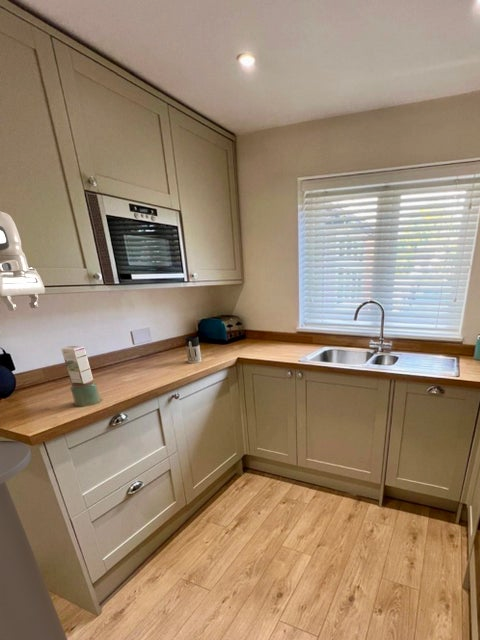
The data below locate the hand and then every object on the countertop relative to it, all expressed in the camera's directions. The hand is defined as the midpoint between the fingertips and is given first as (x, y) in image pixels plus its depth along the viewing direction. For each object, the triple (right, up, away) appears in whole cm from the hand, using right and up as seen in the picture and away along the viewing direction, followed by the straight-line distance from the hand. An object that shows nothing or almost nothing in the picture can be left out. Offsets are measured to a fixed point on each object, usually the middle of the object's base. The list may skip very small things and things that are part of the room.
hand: (24, 309), depth 114 cm
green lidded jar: (+5, -32, +25) cm, 41 cm away
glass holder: (+27, -9, +88) cm, 93 cm away
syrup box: (+5, -24, +22) cm, 33 cm away
